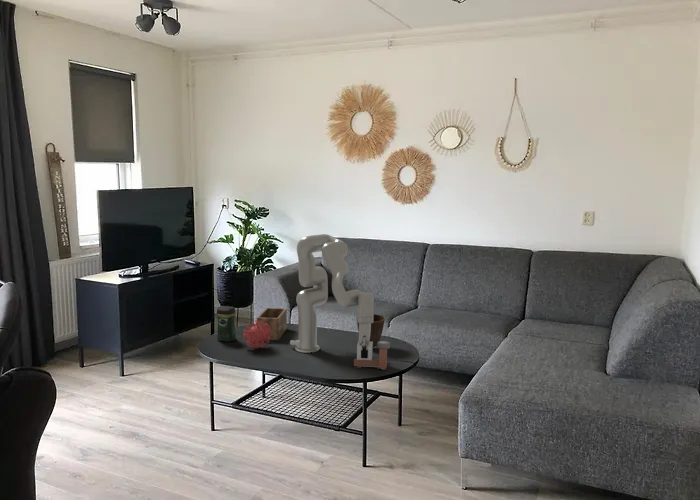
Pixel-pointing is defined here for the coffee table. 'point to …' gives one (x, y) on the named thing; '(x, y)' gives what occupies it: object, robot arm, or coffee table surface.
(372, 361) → the brown mallet
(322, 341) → the coffee table surface
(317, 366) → the coffee table surface
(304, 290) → the robot arm
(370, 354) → the block
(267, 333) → the virus model
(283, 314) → the wooden crate
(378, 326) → the plant pot
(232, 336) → the coffee jar
